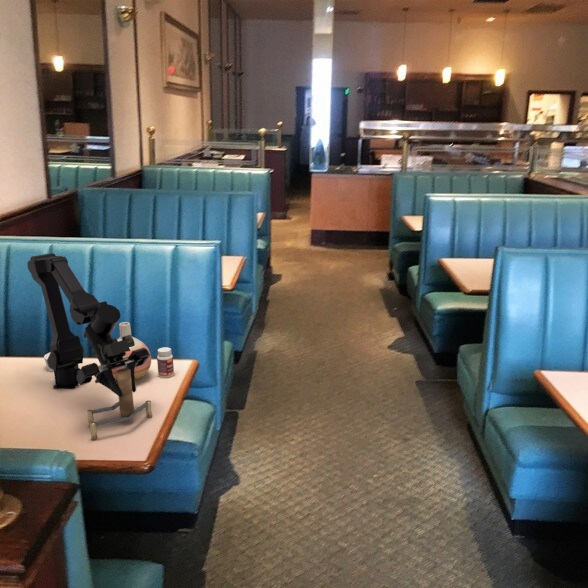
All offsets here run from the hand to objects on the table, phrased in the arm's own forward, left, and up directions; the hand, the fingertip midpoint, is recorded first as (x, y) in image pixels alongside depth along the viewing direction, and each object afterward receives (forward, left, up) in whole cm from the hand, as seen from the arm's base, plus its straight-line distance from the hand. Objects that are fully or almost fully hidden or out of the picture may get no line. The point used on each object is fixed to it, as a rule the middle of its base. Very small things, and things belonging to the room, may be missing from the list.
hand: (128, 394), depth 159 cm
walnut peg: (-1, +1, -7) cm, 7 cm away
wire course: (-3, -1, -8) cm, 9 cm away
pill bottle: (+1, +31, -9) cm, 32 cm away
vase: (-9, +28, -9) cm, 31 cm away
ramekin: (-34, +36, -9) cm, 51 cm away
